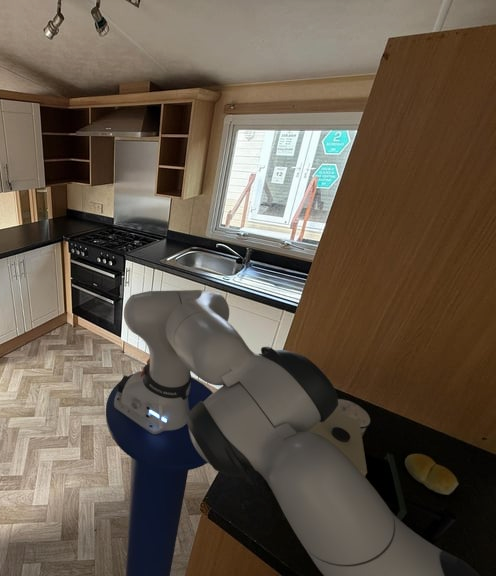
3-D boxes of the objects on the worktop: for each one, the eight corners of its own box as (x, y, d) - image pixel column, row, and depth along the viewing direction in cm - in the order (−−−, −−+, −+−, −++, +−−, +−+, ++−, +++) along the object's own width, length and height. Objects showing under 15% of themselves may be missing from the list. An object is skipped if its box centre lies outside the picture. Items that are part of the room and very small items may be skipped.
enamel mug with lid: (358, 457, 79) (375, 425, 74) (317, 438, 84) (330, 407, 79) (358, 425, 88) (374, 394, 83) (321, 410, 93) (333, 380, 88)
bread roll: (412, 454, 80) (419, 443, 78) (459, 485, 73) (468, 474, 71) (395, 467, 77) (402, 456, 75) (442, 501, 70) (451, 491, 68)
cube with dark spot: (336, 465, 77) (360, 417, 70) (339, 519, 66) (369, 469, 59) (274, 440, 84) (290, 394, 76) (268, 486, 73) (286, 437, 65)
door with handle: (417, 496, 70) (438, 467, 65) (436, 560, 59) (462, 531, 55) (309, 452, 79) (321, 425, 75) (308, 500, 69) (322, 472, 64)
